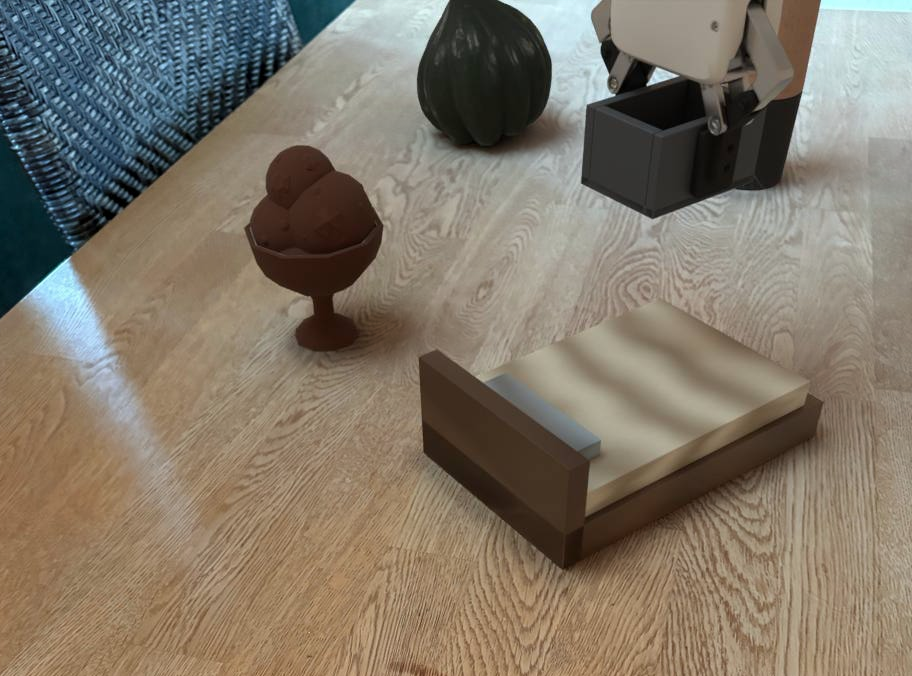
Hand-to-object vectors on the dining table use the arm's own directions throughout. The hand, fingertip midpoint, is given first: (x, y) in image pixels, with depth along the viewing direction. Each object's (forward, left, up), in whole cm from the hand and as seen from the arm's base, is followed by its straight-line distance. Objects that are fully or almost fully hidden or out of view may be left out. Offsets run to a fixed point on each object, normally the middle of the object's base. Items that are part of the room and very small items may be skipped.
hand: (668, 170), depth 67 cm
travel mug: (-36, -23, -17) cm, 46 cm away
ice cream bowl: (+15, -23, -17) cm, 32 cm away
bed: (+6, +4, -17) cm, 19 cm away
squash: (-22, -50, -17) cm, 57 cm away
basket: (0, 0, -1) cm, 1 cm away
